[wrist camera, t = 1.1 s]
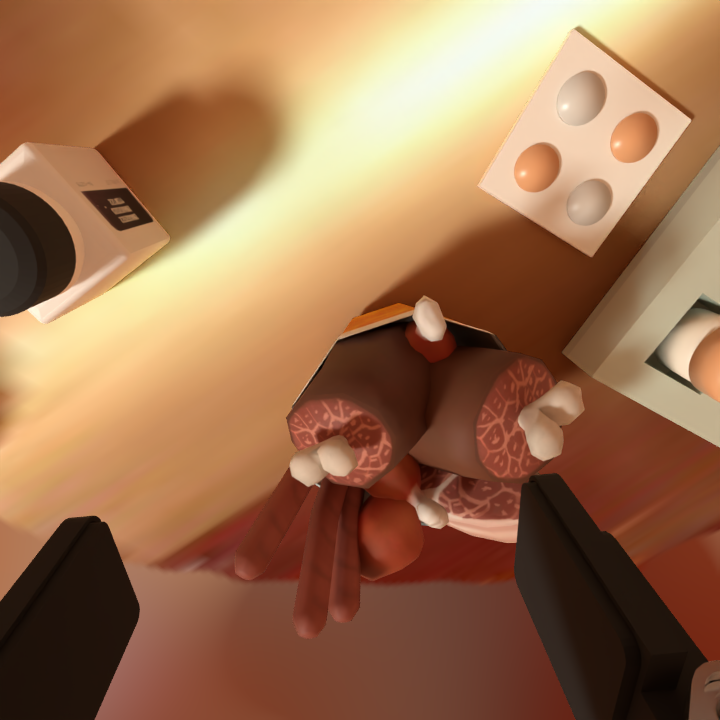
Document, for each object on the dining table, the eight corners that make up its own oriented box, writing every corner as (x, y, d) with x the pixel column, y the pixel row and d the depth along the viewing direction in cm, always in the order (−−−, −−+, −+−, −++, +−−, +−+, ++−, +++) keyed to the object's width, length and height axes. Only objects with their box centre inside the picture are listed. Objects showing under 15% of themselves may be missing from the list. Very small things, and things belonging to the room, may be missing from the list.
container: (95, 145, 31) (-57, 130, 19) (174, 238, 34) (84, 276, 22) (20, 211, 32) (-165, 236, 20) (101, 295, 35) (-20, 360, 23)
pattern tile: (569, 31, 30) (576, 27, 29) (685, 121, 32) (694, 119, 31) (476, 186, 33) (480, 186, 32) (587, 256, 36) (593, 258, 35)
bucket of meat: (429, 220, 34) (536, 279, 16) (534, 370, 40) (703, 541, 21) (241, 372, 38) (154, 556, 20) (360, 487, 44) (376, 714, 26)
